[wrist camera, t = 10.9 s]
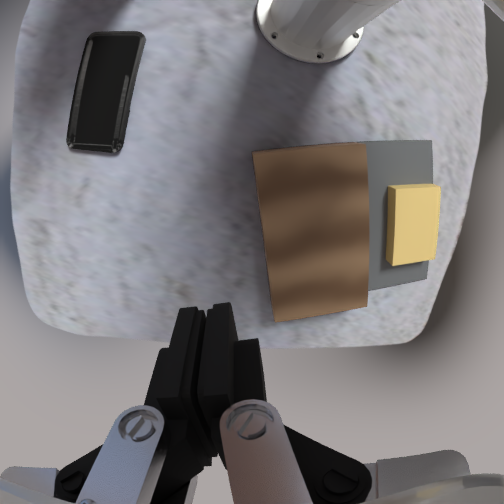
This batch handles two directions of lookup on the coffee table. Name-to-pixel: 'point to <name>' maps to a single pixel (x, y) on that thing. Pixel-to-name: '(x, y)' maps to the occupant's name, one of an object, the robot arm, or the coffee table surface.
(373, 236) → the mat
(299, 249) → the brown wooden block
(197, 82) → the coffee table surface
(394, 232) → the tile
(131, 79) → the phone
